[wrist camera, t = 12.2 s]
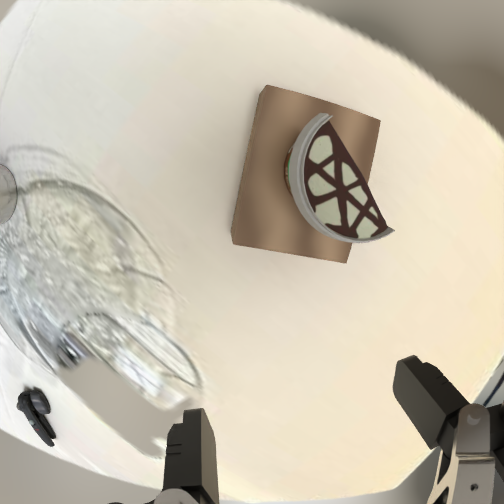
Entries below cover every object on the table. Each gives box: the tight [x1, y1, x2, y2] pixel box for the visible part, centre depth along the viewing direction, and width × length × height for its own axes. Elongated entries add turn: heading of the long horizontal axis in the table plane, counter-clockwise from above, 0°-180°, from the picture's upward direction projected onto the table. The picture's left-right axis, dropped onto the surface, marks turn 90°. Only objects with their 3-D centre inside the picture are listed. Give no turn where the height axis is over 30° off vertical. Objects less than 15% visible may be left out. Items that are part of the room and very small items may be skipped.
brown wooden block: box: [231, 85, 381, 263], centre depth 35 cm, size 14×18×6 cm
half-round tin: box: [284, 113, 395, 243], centre depth 28 cm, size 12×6×10 cm, turn 35°
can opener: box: [17, 390, 56, 447], centre depth 44 cm, size 18×7×6 cm, turn 172°
